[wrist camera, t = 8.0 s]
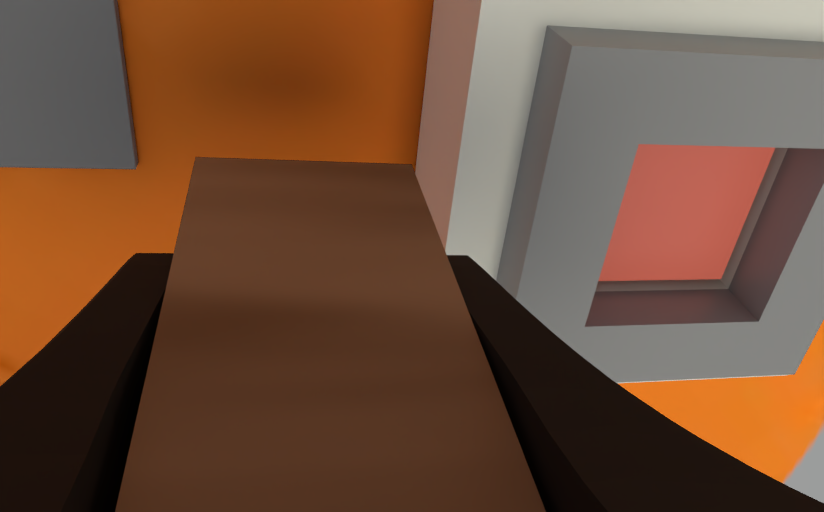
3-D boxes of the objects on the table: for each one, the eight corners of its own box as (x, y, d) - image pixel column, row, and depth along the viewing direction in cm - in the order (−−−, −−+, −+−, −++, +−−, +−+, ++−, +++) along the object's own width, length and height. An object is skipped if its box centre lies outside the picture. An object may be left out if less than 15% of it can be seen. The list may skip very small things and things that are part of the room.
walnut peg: (391, 326, 13) (505, 830, 7) (205, 329, 13) (130, 896, 6) (411, 164, 12) (596, 641, 5) (195, 157, 11) (71, 701, 4)
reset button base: (713, 293, 26) (817, 408, 21) (401, 299, 23) (434, 431, 18) (855, -50, 19) (1054, -1, 14) (443, -87, 17) (511, -44, 12)
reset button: (656, 210, 23) (721, 278, 19) (530, 209, 22) (576, 281, 18) (698, 80, 20) (781, 134, 17) (560, 74, 19) (617, 129, 16)
